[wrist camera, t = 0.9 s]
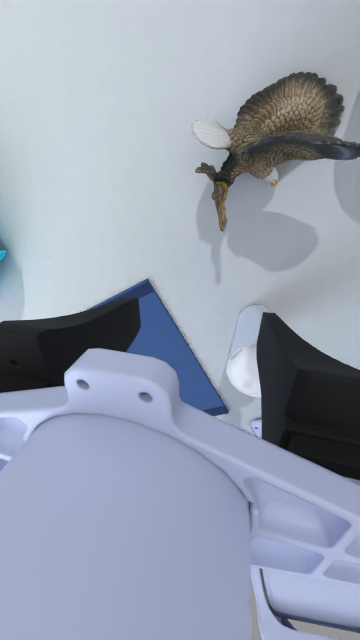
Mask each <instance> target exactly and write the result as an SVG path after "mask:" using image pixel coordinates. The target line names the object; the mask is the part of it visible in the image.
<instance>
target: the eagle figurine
mask: <svg viewBox="0 0 360 640" xmlns="http://www.w3.org/2000/svg"><path fill="white" fill-rule="evenodd" d="M325 83H326V79H325V78H318V75H317V74H316V73H311V72H307V73H303V72H299V73H297V74H295V73H293V74H290V75H289V76H288V77H284V78H283V79H280V80H279V81H277V83H276V84H275V83H273V84H272V85H270V86H268V87H266V88H265V89H264V90H263V91H259V92H257V93H256V94H254V95H252V96H251V98H250V99H248V100H247V101H246V103H245V104H244V105H243V106H241V107H240V111H239V112H238V114H237V115H238V118H237V120H236V123H237V124H236V125H235V126H234V129H225V128H224V127H222V126H221V125H220V124H219V123H218V122H217V121H216V120H215V119H212V118H209V117H208V118H204V119H201V120H196V121H195V122H194V123H193V124H192V133H193V135H194V136H195V137H196V139H198V140H199V141H200V143H202V144H203V145H205V146H208V147H210V148H213V149H226V150H228V151H229V156H228V158H227V160H226V161H225V162H224V163H223V166H222V167H221V171H220V172H218V173H217V172H216V170H215V168H214V166H213V165H211V166H208V164H206V163H203V162H202V163H201V167H198V168H196V170H195V172H196V173H205V174H207V175H208V177H209V178H210V180H211V181H213V182H214V191H213V193H212V199H213V200H215V204H216V208H217V212H218V216H219V225H220V230H221V231H224V229H225V227H226V223H227V219H226V214H225V209H226V208H225V206H224V202H225V200H226V195H227V192H228V187H229V186H230V185H231V184H233V182H234V179H235V178H236V177H237V176H239V175H240V174H242V173H244V172H250V174H251V175H253V176H255V177H257V178H261V179H264V180H266V181H268V182H270V183H271V184H272V186H275V185H276V183H277V181H278V172H277V170H276V168H275V167H274V165H277V164H280V163H282V162H285V161H291V160H316V159H323V158H327V159H334V160H351V159H356V158H357V157H360V144H357V143H355V142H346V141H342V140H341V139H339V138H337V137H334V136H333V135H334V134H335V128H336V127H337V126H338V125H339V124H340V118H339V116H340V115H341V114H342V113H343V111H344V106H343V105H341V104H342V102H343V96H342V95H341V94H338V93H336V91H337V87H336V86H335V85H331V84H329V85H325Z"/></svg>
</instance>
